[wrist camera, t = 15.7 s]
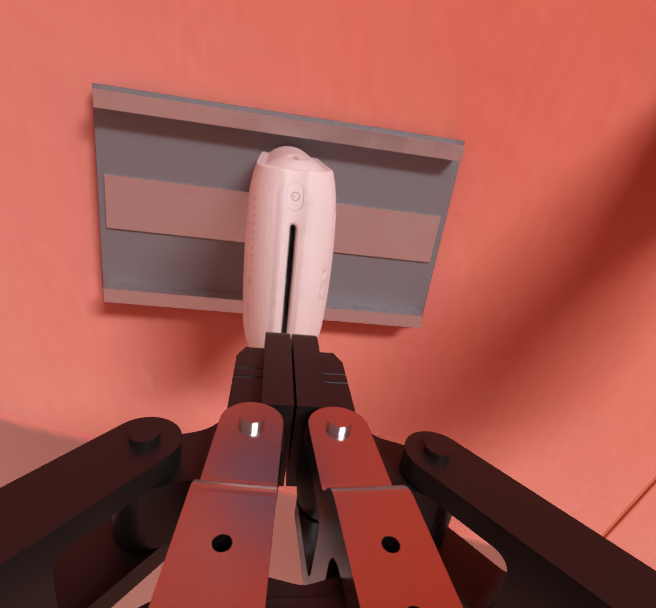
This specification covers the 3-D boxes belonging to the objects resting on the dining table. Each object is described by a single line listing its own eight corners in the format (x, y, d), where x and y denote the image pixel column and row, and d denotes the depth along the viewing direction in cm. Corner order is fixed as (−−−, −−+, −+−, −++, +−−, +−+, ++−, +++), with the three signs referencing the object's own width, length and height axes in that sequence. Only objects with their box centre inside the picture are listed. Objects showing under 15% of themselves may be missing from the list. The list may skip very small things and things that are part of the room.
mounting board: (459, 140, 31) (464, 141, 30) (416, 319, 36) (420, 324, 35) (98, 84, 27) (92, 82, 26) (108, 292, 32) (103, 297, 31)
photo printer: (257, 140, 28) (244, 154, 17) (322, 148, 29) (352, 166, 18) (249, 288, 32) (234, 379, 21) (307, 292, 33) (323, 383, 21)
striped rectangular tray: (456, 144, 30) (464, 145, 29) (414, 320, 35) (420, 328, 34) (101, 89, 26) (92, 88, 25) (111, 294, 31) (103, 301, 30)
